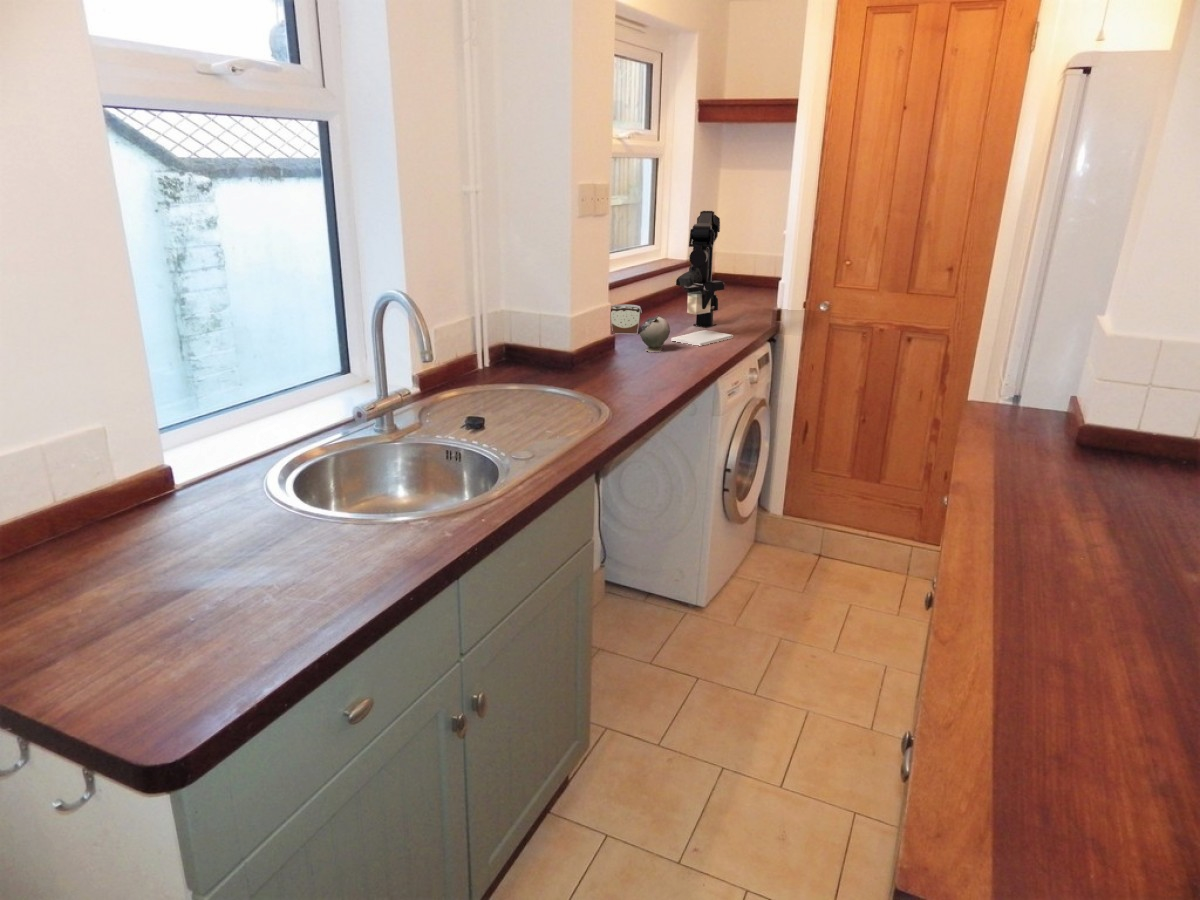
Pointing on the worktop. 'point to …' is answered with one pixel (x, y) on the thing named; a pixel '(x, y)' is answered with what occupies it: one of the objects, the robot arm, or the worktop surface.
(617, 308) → the food container
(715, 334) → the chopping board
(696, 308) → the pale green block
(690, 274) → the robot arm
